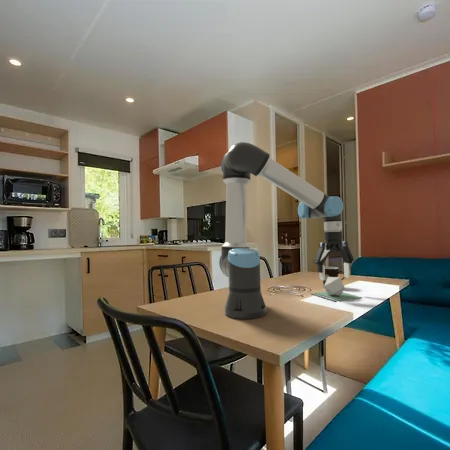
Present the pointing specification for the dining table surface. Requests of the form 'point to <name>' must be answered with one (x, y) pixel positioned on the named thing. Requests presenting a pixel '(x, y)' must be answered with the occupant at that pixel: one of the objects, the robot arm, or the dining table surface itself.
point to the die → (334, 286)
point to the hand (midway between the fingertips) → (334, 278)
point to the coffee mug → (331, 273)
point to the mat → (339, 298)
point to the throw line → (323, 297)
